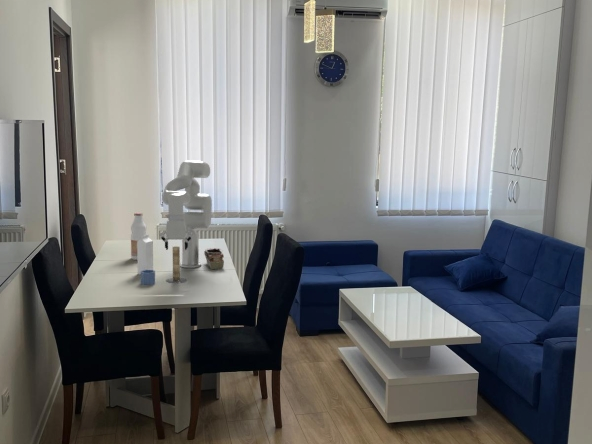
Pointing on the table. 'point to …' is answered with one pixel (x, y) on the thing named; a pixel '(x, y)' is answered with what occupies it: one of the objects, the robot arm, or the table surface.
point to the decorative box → (214, 258)
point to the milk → (145, 254)
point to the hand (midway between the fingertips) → (176, 249)
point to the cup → (147, 277)
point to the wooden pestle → (176, 263)
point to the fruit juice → (137, 233)
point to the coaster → (176, 281)
